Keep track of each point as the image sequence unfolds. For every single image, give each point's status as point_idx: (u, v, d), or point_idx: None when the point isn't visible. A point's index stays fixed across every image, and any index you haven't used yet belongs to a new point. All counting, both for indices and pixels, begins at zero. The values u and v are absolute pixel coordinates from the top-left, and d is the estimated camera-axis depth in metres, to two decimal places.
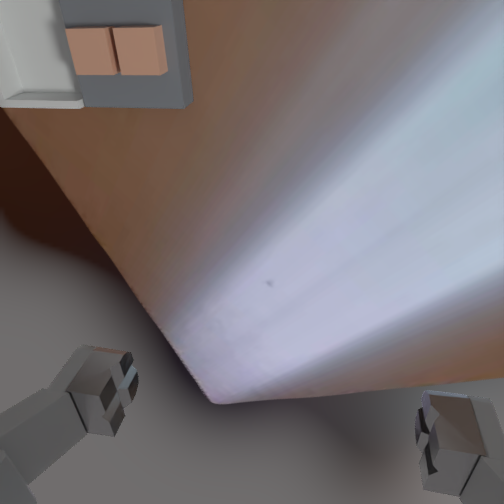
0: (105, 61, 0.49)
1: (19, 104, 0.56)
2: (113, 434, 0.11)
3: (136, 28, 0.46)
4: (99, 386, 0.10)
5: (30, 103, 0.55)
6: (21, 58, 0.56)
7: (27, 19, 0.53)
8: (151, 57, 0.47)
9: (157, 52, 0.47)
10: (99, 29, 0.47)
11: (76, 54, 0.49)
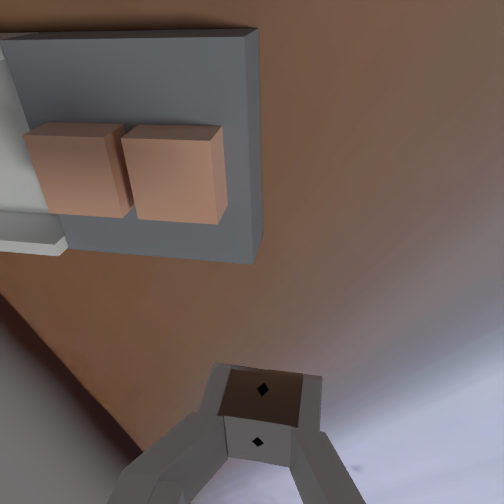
0: (106, 195, 0.24)
1: None
2: (258, 459, 0.10)
3: (172, 140, 0.22)
4: (253, 409, 0.10)
5: None
6: None
7: None
8: (202, 194, 0.23)
9: (215, 185, 0.23)
10: (93, 139, 0.22)
11: (48, 180, 0.24)
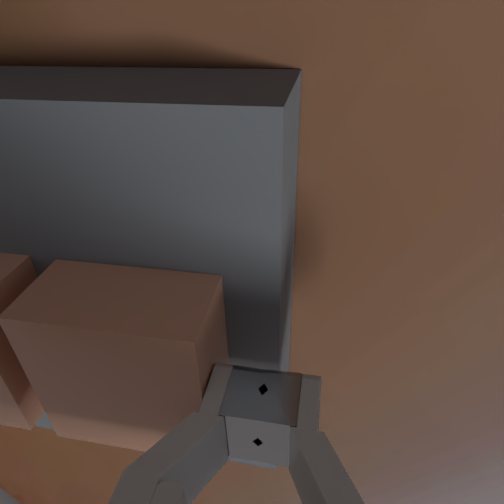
0: None
1: None
2: (259, 459, 0.10)
3: (109, 332, 0.10)
4: (254, 409, 0.10)
5: None
6: None
7: None
8: (179, 420, 0.11)
9: None
10: None
11: None
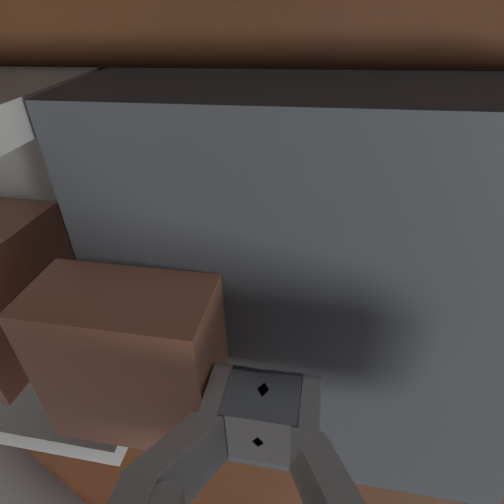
0: None
1: None
2: (258, 459, 0.10)
3: (108, 331, 0.10)
4: (253, 409, 0.10)
5: None
6: None
7: None
8: (178, 419, 0.11)
9: None
10: None
11: None
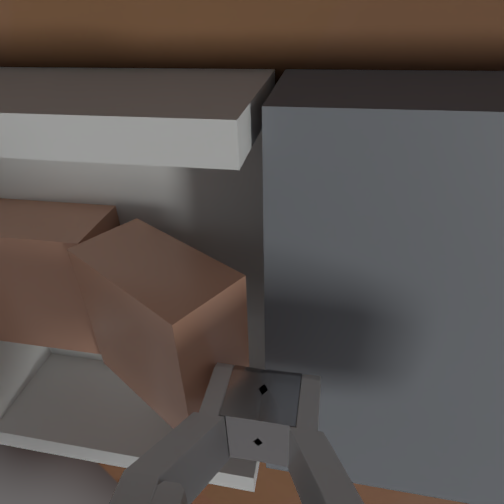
0: None
1: (41, 447, 0.17)
2: (259, 459, 0.10)
3: (123, 290, 0.11)
4: (255, 409, 0.10)
5: (79, 451, 0.16)
6: None
7: (76, 188, 0.14)
8: (169, 394, 0.12)
9: (189, 392, 0.11)
10: None
11: None
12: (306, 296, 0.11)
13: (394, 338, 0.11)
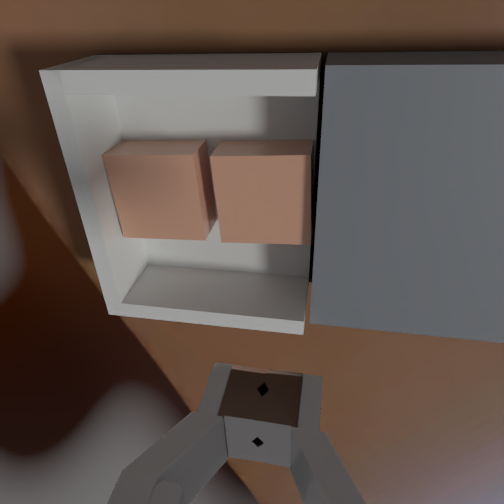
0: None
1: (155, 314, 0.25)
2: (258, 459, 0.10)
3: (267, 156, 0.20)
4: (253, 409, 0.10)
5: (182, 314, 0.24)
6: None
7: (189, 132, 0.22)
8: (296, 213, 0.21)
9: (311, 203, 0.21)
10: None
11: None
12: (343, 181, 0.19)
13: (394, 206, 0.19)
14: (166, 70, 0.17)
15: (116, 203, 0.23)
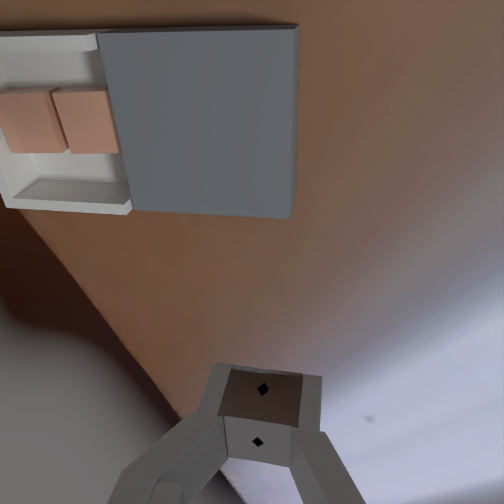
0: None
1: (34, 205, 0.37)
2: (258, 459, 0.10)
3: (85, 93, 0.32)
4: (253, 409, 0.10)
5: (51, 204, 0.37)
6: None
7: (48, 81, 0.35)
8: (110, 131, 0.34)
9: None
10: None
11: None
12: (125, 106, 0.31)
13: (158, 121, 0.32)
14: (7, 37, 0.29)
15: (3, 128, 0.35)
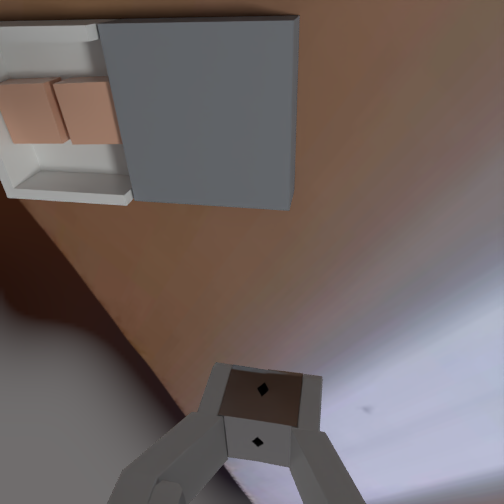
0: None
1: (35, 195, 0.37)
2: (258, 459, 0.10)
3: (85, 83, 0.32)
4: (253, 409, 0.10)
5: (52, 194, 0.37)
6: None
7: (49, 71, 0.35)
8: (110, 121, 0.34)
9: None
10: None
11: None
12: (126, 96, 0.32)
13: (158, 112, 0.32)
14: (8, 27, 0.29)
15: (4, 118, 0.35)
